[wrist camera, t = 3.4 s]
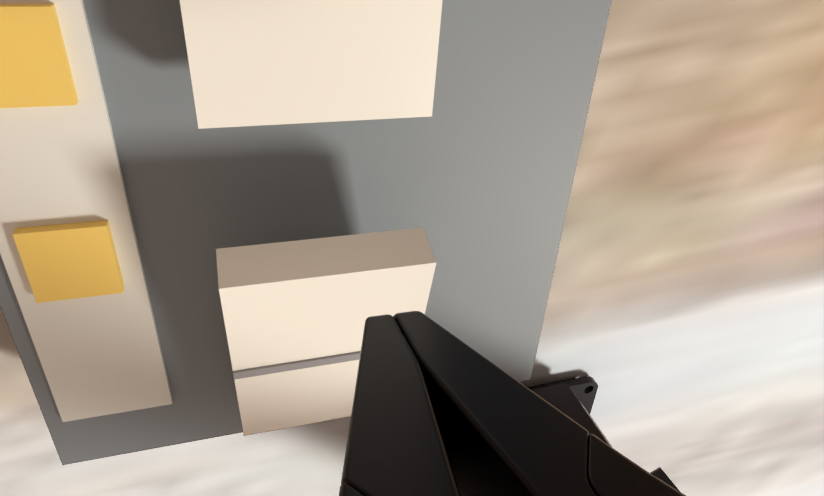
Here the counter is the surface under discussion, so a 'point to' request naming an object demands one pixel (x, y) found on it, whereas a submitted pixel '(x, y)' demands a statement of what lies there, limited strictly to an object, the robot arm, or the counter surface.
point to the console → (260, 201)
